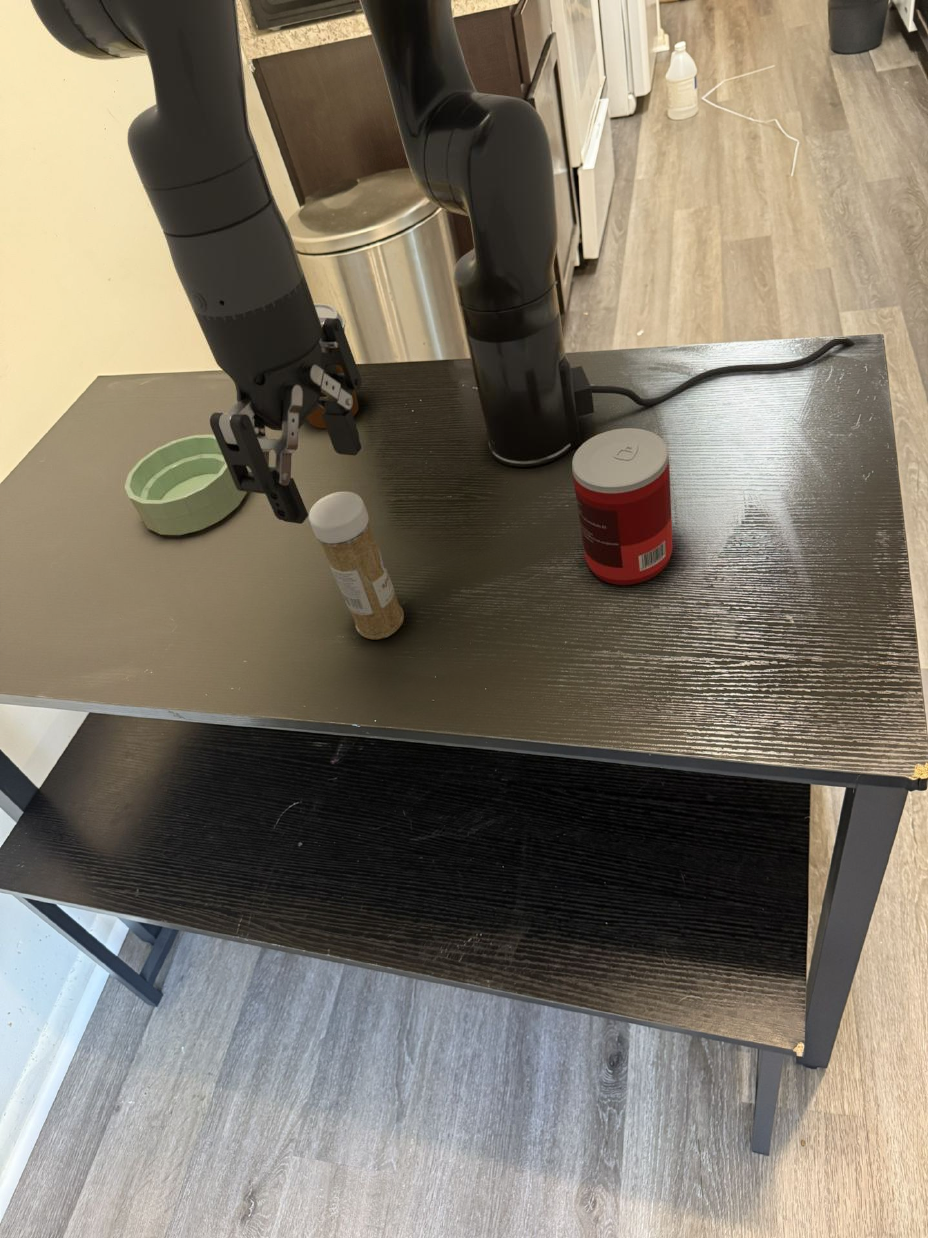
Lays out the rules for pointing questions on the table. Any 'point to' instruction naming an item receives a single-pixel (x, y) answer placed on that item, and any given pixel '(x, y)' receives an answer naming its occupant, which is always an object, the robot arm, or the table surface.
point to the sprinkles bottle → (357, 563)
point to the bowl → (183, 486)
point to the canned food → (624, 504)
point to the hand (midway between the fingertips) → (323, 484)
